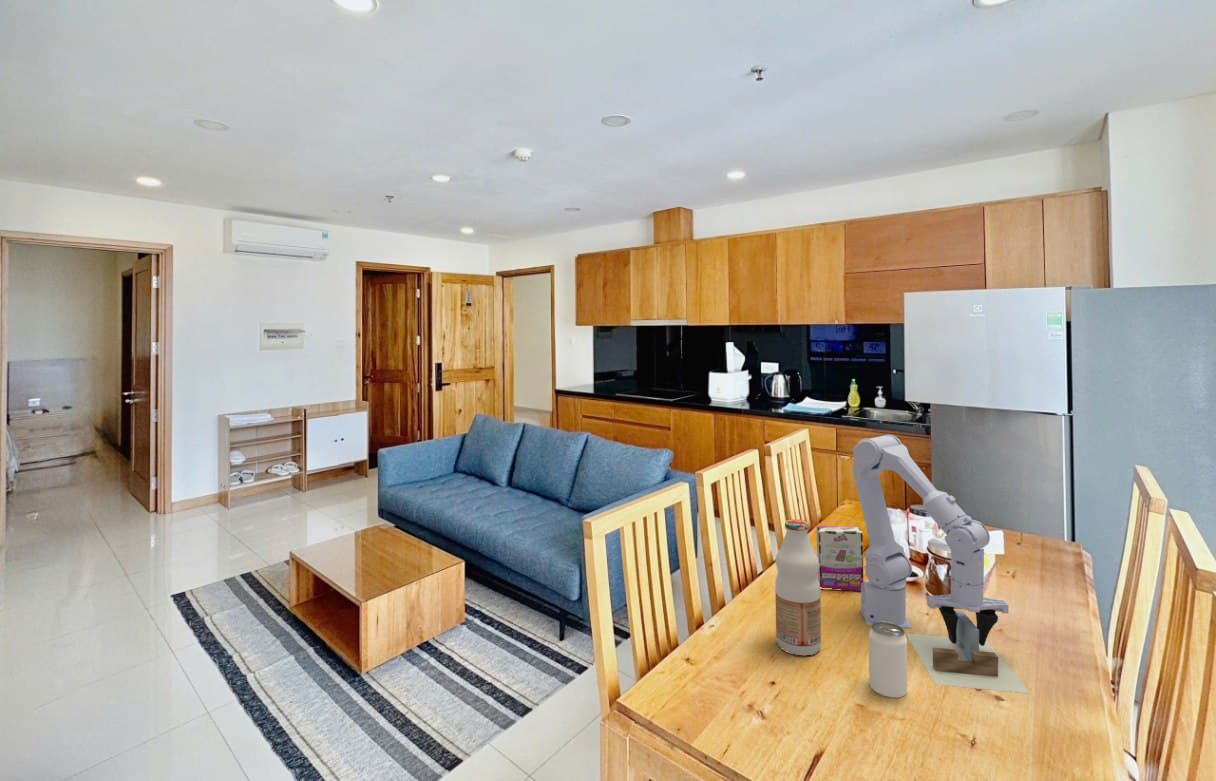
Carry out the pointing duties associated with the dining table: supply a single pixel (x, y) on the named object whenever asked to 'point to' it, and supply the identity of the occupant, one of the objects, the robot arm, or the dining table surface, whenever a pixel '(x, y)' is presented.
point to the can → (888, 659)
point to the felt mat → (925, 652)
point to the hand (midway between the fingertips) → (966, 642)
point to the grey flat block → (966, 634)
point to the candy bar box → (840, 557)
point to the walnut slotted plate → (965, 662)
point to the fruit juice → (798, 592)
